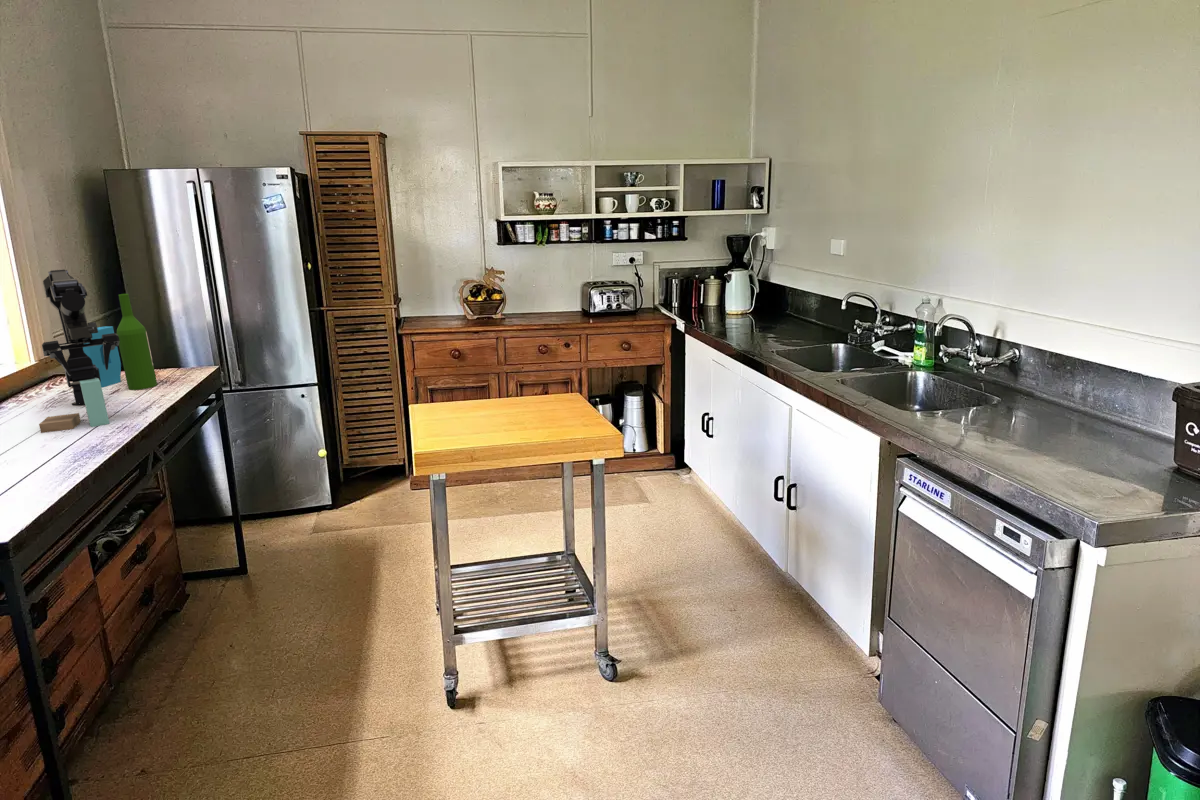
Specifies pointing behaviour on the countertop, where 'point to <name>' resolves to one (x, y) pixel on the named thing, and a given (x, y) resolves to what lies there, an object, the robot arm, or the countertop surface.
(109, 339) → the robot arm
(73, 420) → the walnut slab
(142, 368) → the wine bottle
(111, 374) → the block
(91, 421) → the teal block
